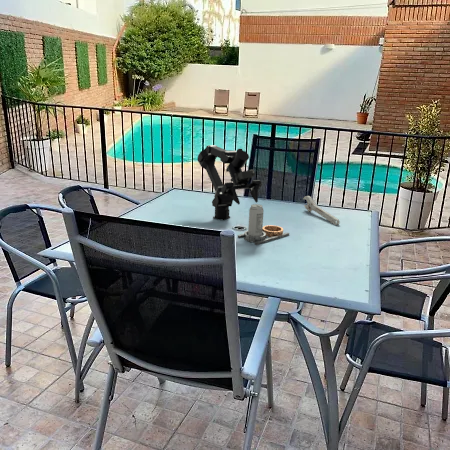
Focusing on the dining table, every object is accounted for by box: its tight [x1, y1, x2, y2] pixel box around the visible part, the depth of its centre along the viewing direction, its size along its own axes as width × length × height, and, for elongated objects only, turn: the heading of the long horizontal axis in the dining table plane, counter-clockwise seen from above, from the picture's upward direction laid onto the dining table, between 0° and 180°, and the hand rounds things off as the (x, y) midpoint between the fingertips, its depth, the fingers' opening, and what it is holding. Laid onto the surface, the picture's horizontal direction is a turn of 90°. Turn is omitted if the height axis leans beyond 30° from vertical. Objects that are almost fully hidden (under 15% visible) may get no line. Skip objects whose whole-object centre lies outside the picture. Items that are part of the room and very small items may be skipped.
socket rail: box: [237, 224, 290, 246], centre depth 189 cm, size 21×12×2 cm, turn 132°
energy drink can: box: [247, 203, 264, 237], centre depth 184 cm, size 6×6×15 cm
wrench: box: [302, 195, 341, 226], centre depth 221 cm, size 8×2×30 cm
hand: (248, 203), depth 188 cm, fingers open, 9 cm apart
